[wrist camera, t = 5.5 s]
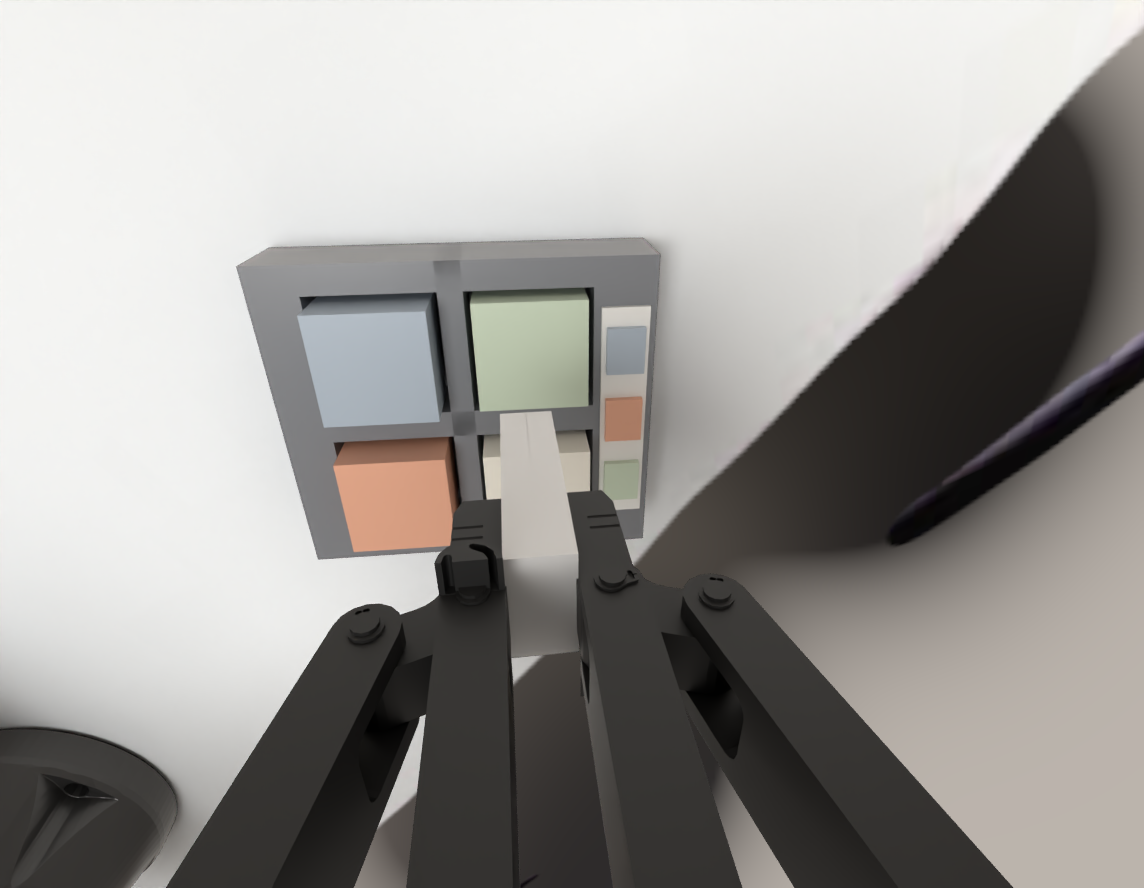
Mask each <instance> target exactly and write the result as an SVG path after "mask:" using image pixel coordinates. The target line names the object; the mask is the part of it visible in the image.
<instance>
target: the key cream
mask: <svg viewBox="0 0 1144 888" xmlns="http://www.w3.org/2000/svg"><path fill="white" fill-rule="evenodd" d="M555 434H556V439H557V444H558V449H559V455H560V460H561V465H562V470H563V476H564V481H565V486H566V491H567V493H568V492H582V491H590V449H589V445H588V440H587V436H586V432H585V430H567V431H555ZM483 465H484V476H485V486H486V497H487V500H488V499H501V451H500V434H489V435H484V448H483Z"/></svg>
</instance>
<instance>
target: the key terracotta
mask: <svg viewBox="0 0 1144 888" xmlns="http://www.w3.org/2000/svg"><path fill="white" fill-rule="evenodd" d="M333 467H334V472H335V476H336V480H337V484H338V488H339V492H340V497H341V501H342V505H343V509H344V513H345V517H346V522H347V526H348V530H349V534H350V538H351V542H352V547H353V551H354V552H363V551H379V550H394V549H409V548H424V547H440V546H450V542H451V533H452V523H453V514H454V512H455V511H456V510H457V509H458V507H459V506H460V499H459V491H458V483H457V475H456V467H455V459H454V450H453V442H452V436H450V437H430V438H411V439H392V440H372V441H353V442H345V443H344V445H343V447H342V449H341V451H340V453H339V455H338V457H337V459H336V461H335V463H334V465H333Z"/></svg>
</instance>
